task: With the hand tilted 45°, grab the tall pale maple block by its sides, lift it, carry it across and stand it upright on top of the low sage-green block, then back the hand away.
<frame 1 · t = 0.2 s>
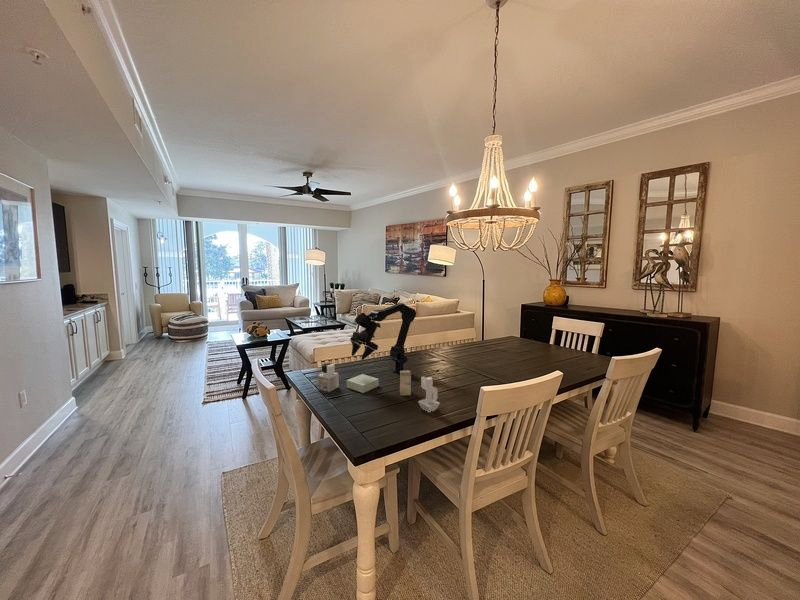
hand: (357, 357, 179), 15 cm above the table, tool tilted 35°, fingers open, 9 cm apart
figurine: (428, 410, 151), on the table
maple block: (405, 393, 170), on the table
container: (328, 388, 175), on the table
sage base block: (362, 386, 178), on the table
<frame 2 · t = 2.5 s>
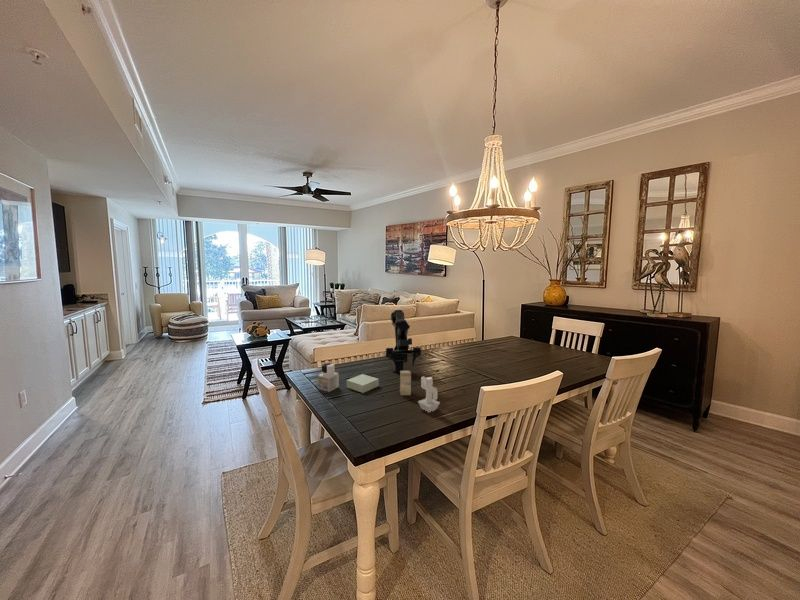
hand: (404, 366, 174), 12 cm above the table, tool tilted 45°, fingers open, 9 cm apart
nothing on the table moved.
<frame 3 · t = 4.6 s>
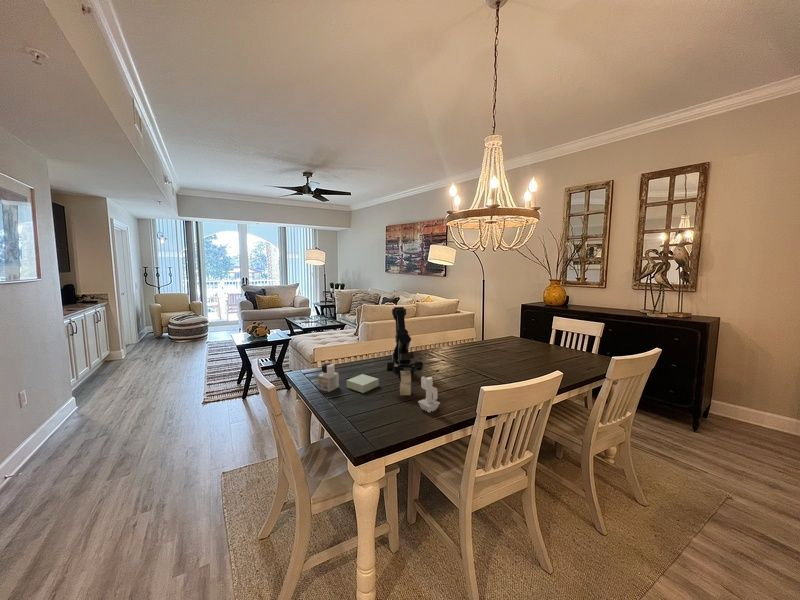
hand: (405, 381, 167), 7 cm above the table, tool tilted 45°, fingers closed on maple block, 5 cm apart
maple block: (405, 393, 170), on the table, touching gripper
everything else where it was.
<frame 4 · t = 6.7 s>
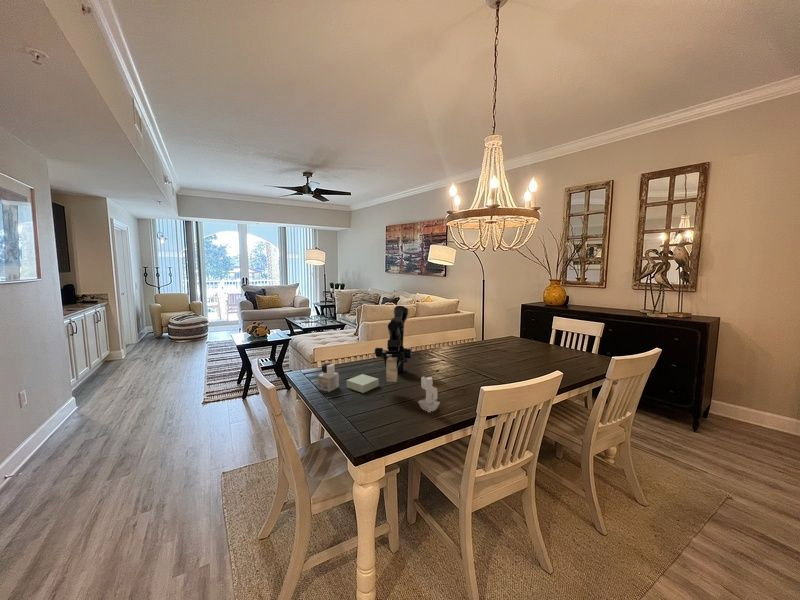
hand: (391, 368, 167), 13 cm above the table, tool tilted 45°, fingers closed on maple block, 5 cm apart
maple block: (391, 379, 169), point 7 cm above the table, touching gripper
everything else where it was.
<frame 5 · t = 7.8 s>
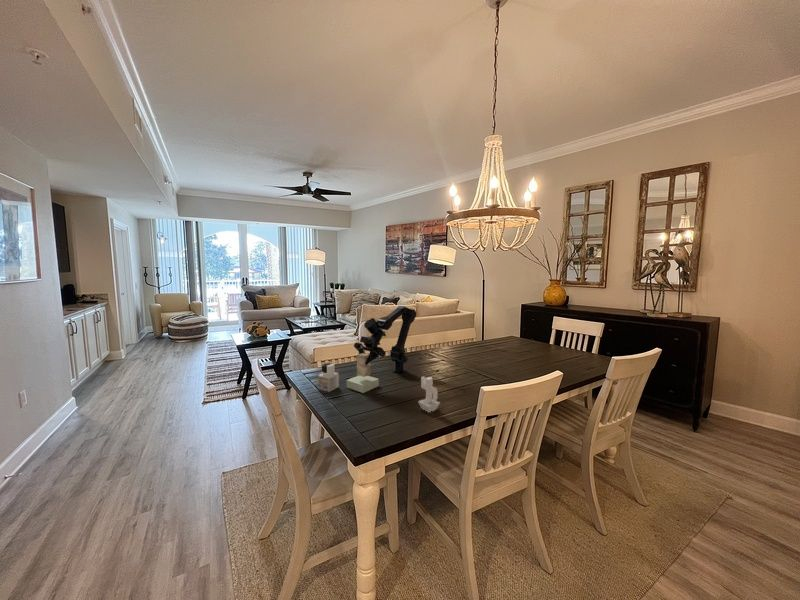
hand: (361, 363, 174), 13 cm above the table, tool tilted 45°, fingers closed on maple block, 5 cm apart
maple block: (363, 374, 176), point 7 cm above the table, touching gripper
everything else where it was.
when the fingers open (12 cm above the table, at t = 8.7 s): maple block drops 1 cm, resting on sage base block.
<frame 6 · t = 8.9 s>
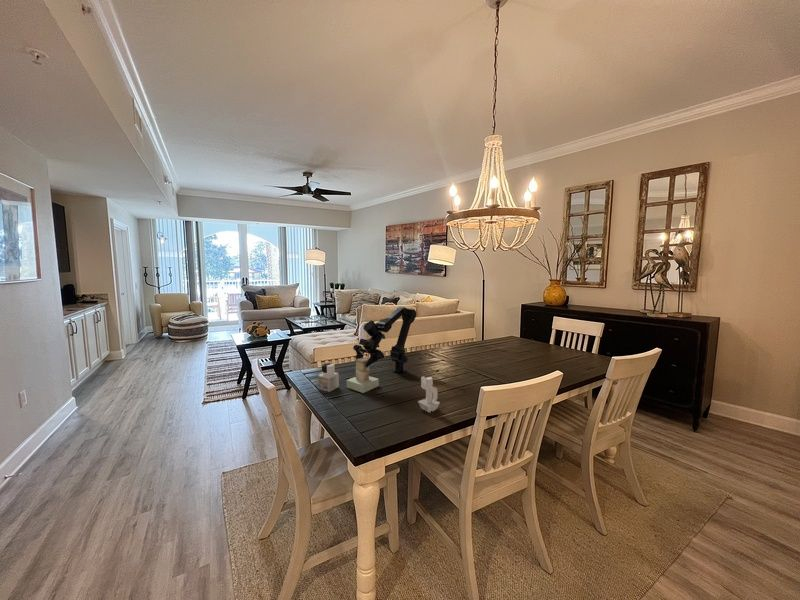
hand: (360, 365, 175), 12 cm above the table, tool tilted 45°, fingers open, 7 cm apart
maple block: (362, 379, 177), point 4 cm above the table, touching sage base block
everything else where it was.
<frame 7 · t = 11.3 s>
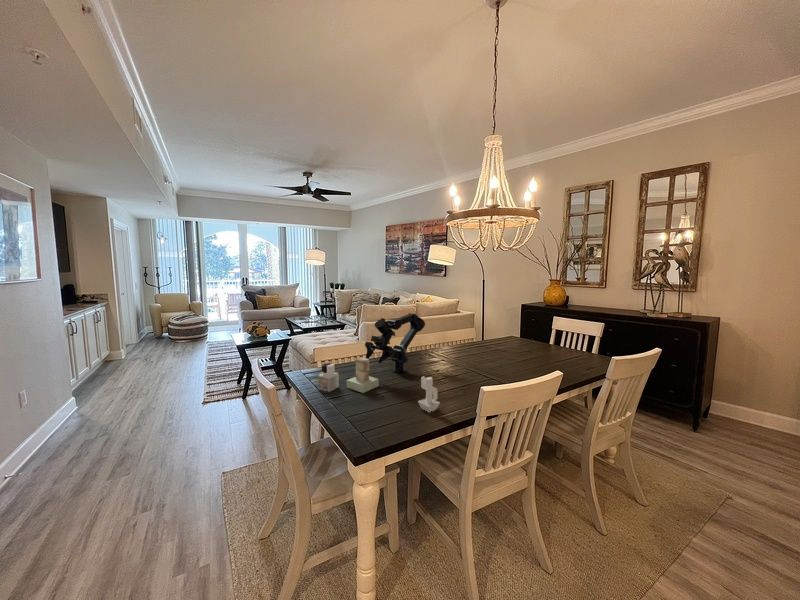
hand: (372, 361, 182), 12 cm above the table, tool tilted 45°, fingers open, 9 cm apart
nothing on the table moved.
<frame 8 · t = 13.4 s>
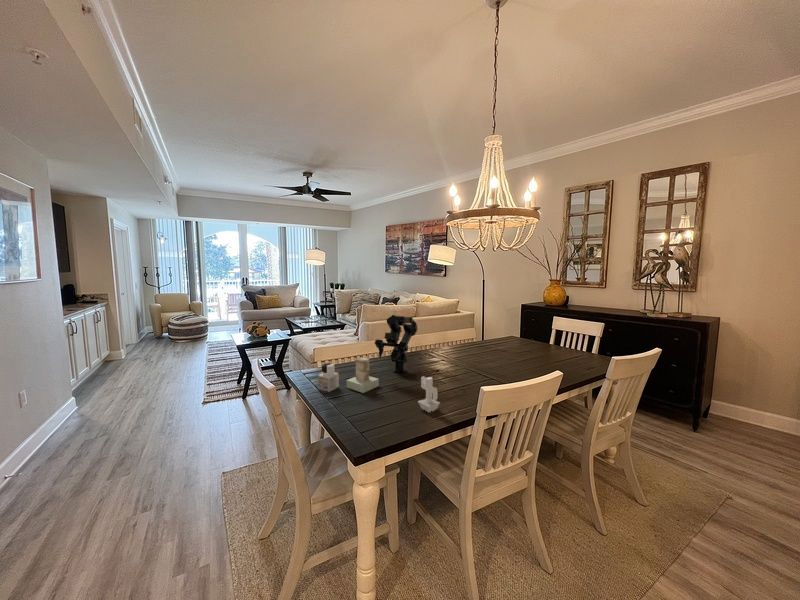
hand: (387, 358, 182), 14 cm above the table, tool tilted 45°, fingers open, 9 cm apart
nothing on the table moved.
at the end: maple block 0.0 cm off-centre on the sage base block, point 4.0 cm above the sage base block's base; maple block tilted 0°; the gripper is holding nothing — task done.
